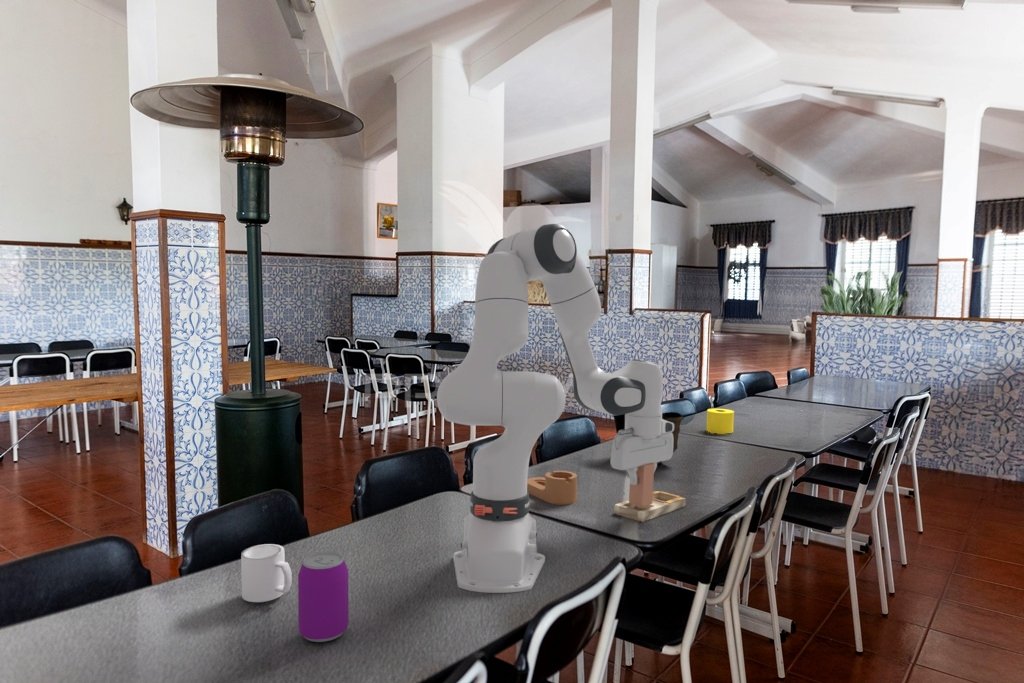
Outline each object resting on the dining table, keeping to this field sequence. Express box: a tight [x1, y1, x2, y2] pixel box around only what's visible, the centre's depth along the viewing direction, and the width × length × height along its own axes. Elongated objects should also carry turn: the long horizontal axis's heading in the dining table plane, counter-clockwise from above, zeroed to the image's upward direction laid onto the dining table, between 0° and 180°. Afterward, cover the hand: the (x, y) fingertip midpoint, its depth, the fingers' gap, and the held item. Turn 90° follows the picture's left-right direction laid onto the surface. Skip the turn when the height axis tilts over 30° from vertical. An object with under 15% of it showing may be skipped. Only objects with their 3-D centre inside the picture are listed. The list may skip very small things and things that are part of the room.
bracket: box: [527, 470, 578, 505], centre depth 182 cm, size 18×8×7 cm, turn 32°
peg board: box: [613, 490, 686, 523], centre depth 170 cm, size 18×8×3 cm, turn 132°
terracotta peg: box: [628, 463, 655, 507], centre depth 165 cm, size 4×4×10 cm
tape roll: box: [706, 408, 735, 435], centre depth 264 cm, size 10×10×9 cm
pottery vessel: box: [612, 411, 685, 466], centre depth 217 cm, size 25×11×20 cm, turn 47°
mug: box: [240, 543, 293, 603], centre depth 121 cm, size 10×7×8 cm
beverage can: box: [297, 550, 350, 643], centre depth 108 cm, size 8×8×12 cm
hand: (641, 482), depth 165 cm, fingers closed on terracotta peg, 4 cm apart
